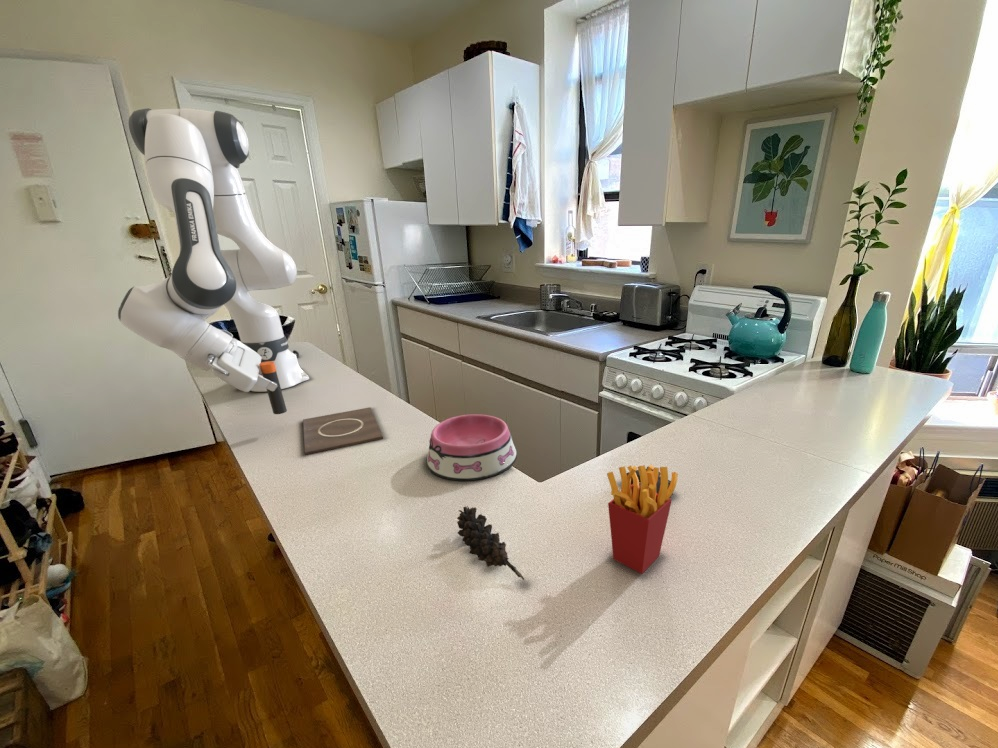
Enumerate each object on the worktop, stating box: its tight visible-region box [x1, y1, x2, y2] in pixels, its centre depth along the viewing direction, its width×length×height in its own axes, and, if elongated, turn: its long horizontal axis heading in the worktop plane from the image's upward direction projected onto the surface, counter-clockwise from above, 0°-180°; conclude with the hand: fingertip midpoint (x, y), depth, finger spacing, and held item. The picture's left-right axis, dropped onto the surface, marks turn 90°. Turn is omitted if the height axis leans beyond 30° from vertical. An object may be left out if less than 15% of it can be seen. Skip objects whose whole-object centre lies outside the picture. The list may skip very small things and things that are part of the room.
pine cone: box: [456, 505, 525, 581], centre depth 67 cm, size 18×5×5 cm, turn 34°
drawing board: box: [302, 406, 384, 456], centre depth 110 cm, size 20×16×1 cm
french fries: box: [606, 464, 678, 575], centre depth 66 cm, size 9×8×15 cm
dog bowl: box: [426, 413, 518, 482], centre depth 95 cm, size 18×19×7 cm
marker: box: [259, 361, 288, 415], centre depth 106 cm, size 3×3×12 cm
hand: (276, 385), depth 106 cm, fingers closed on marker, 3 cm apart
